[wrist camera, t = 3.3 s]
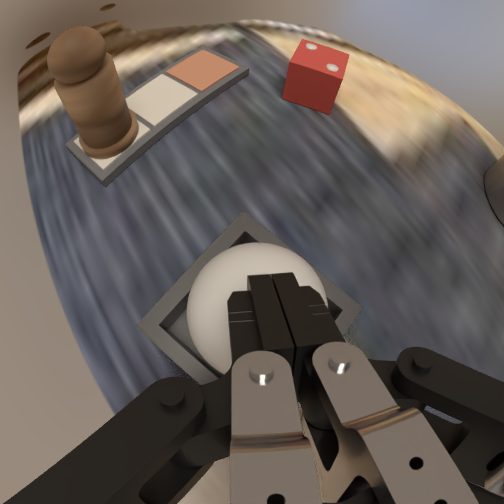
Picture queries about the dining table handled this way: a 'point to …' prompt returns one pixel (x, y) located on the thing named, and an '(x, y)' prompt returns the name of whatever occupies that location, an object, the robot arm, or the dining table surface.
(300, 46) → the red die
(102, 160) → the track board
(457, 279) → the dining table surface
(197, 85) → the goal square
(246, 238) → the base
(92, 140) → the wooden pawn
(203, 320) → the dome
